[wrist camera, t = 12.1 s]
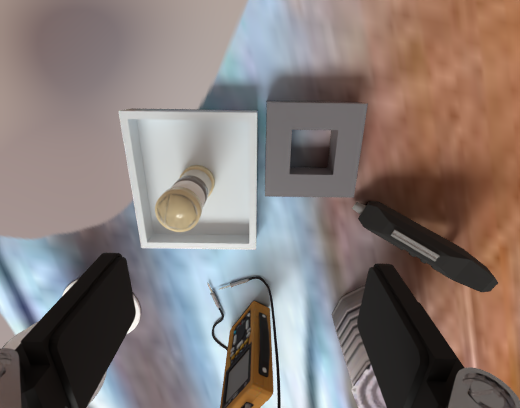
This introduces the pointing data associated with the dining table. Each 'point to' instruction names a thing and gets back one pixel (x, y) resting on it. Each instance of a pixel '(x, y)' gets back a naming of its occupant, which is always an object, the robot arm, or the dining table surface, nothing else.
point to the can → (356, 351)
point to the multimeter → (249, 356)
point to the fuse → (185, 199)
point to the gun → (425, 246)
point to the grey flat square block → (340, 152)
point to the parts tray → (185, 155)
